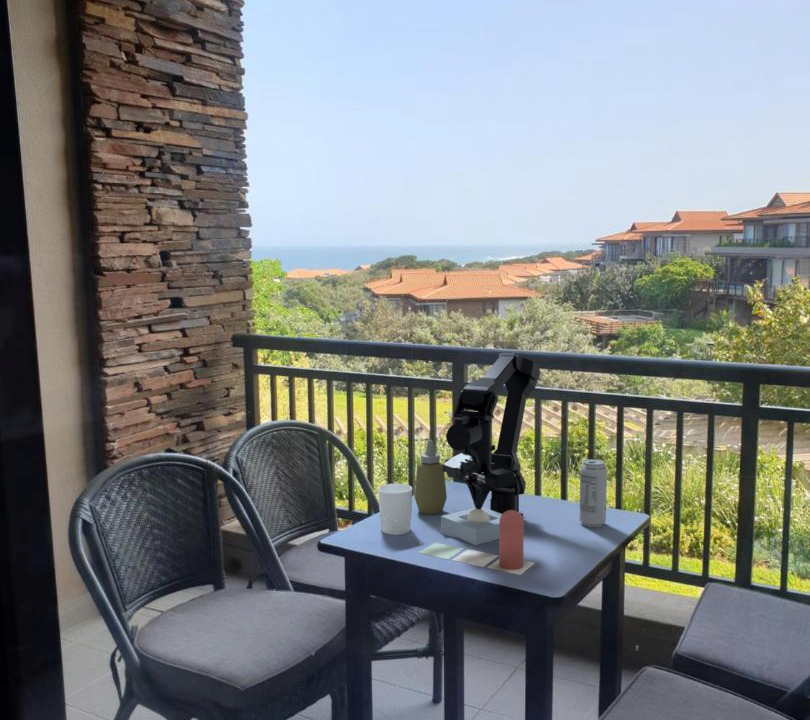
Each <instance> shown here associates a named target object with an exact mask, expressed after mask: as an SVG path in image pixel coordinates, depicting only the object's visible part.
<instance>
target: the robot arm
mask: <svg viewBox="0 0 810 720" xmlns="http://www.w3.org/2000/svg"><path fill="white" fill-rule="evenodd" d="M540 374H541V370H540V367H539V365H538V364H537V363H536V361H534V360H531V359H529V358H526V357H523V356H522V354H518V353H515V352H514V353H513V352H502V353H499V354H498V356H497V360H495V362H494V363H493V364H492V365H491V366H490V368H489V369H487V371H486V372H485V373H484V374H483V376H482V377H481V378H479V379H475V380H473V381H470V382H468V383H467V384H466V385H465V386H464V387H463V389H462V390H461V392H460V394H459V397H458V401H457V404H456V407H455V410H454V413H453V417H454V423H453V424H452V425H450V427H448V429H447V432H446V434H445V435H446V436H445V438H446V443H448V445H449V447H450V448H452V449H453V450H455V451H459V452H460V453H458V454H456V455H454V456H453V457H449V458H447V459H446V458H445V460H444V461H443V463H442V464H443V471H444V473H446V475H447V478H452V479H454V480H456V481H462V482H463V483H464V484H465V485H466V486H467V487H468V490H469V492H470V493H469V494H470V496H471V499H472V502H473V504H474V508H476V509H481V508H482V507H483V506H484V504H485V502H486V499H488V498H487V497H488V496H489V494H490V495H491V498H490V506H489V507H490V508H489V509H490V510H492V511H495V512H498V513H501V514H503V513H504V512H505V511H508V510H515V511H517V512H519V511H520V509H519V508H520V504H519V503H520V495H524V494H525V490H526V484H527V482H526V480H525V479H524V478H525V477H523V475H522V472H521V467H522V466H521V463H520V461H519V458H518V457H519V456H517V452H518V447H519V441H520V437H521V436H520V435H521V430H522V425H523V420H524V416H525V414H524V413H525V409H526V404H527V398H528V397H529V395H531V393H533V391H534V390H535V389H536V387H537V382H538V380H539V379H540ZM504 386H505V388H506V392H507V395H506V400H505V405H504V409H503V410H504V411H503V416H502V421H501V426H500V430H499V431H500V432H499V436H498V441H497V446H496V445H493V444H492V419H494V418H495V415H494V412H495V409H496V407H497V403H498V402H499V398H498V393H499V391H500V390H501V389H502V388H503V387H504ZM492 451H493V452H492ZM490 492H491V493H490ZM519 513H520V514H521V515H522V517H524V514H523V513H522V512H519Z"/></svg>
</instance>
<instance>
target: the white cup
mask: <svg viewBox="0 0 810 720" xmlns="http://www.w3.org/2000/svg"><path fill="white" fill-rule="evenodd" d="M377 489H378V490H377V491H378V507H379V508H378V509H379V518H380V530H381V532H382V533H384V534H386V535H390V536H391V535H392V536H393V535H395V536H398V535H400V536H401V535H405V534H408V533H409V532H410V531H411V523H412V522H411V521H412V520H411V519H412V510H413V509H412V508H413V487H412V486H411V485H408V484H406V483H405V484H404V483H387V484H383V485H381V486H379V487H378V488H377Z"/></svg>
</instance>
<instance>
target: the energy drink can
mask: <svg viewBox="0 0 810 720" xmlns="http://www.w3.org/2000/svg"><path fill="white" fill-rule="evenodd" d="M579 469H580V470H579V471H580V473H579V474H580V476H579V477H580V478H579V521H580V522H581V525H582V526H584V527H586V526H587V527H588V528H593V527H597V528H601V527H600V526H602V525H603V526H604V524H605V523H606V522H607V488H608V487H607V485H608V484H607V483H608V482H607V480H608V476H607V475H608V469H607V467H606V465H605V461H603V460H602V459H596V458H595V459H591V458H588V459H584V460H583V463H582V464H581V467H580V468H579ZM603 526H602V527H603ZM587 527H586V528H587Z"/></svg>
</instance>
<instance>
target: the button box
mask: <svg viewBox="0 0 810 720" xmlns="http://www.w3.org/2000/svg"><path fill="white" fill-rule="evenodd" d="M473 509H476V508H475V507H473V508H468V509H464V510H461V511H456V512H452V513H448V514H444V515H440V534H443V535H444V534H445V536H446V537H449V536H450V537H449V538H458V539H460V540H462V541H465V542H467V543H469V544H472V545H474V546H478V545H482V544H485V543H489V542H492V541H496V540H499V522H500V517H501V515H502V514H501V513H498V512H495V511H492V510H490V508H486V507H483V506H482V508H481V509H483V510H485V511H486V512H487V513H488V515H489V521H487V522H484V523H480V524H475V523H473V522H470V521H467V517H468V514H469V513H470V511H472V510H473Z"/></svg>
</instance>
